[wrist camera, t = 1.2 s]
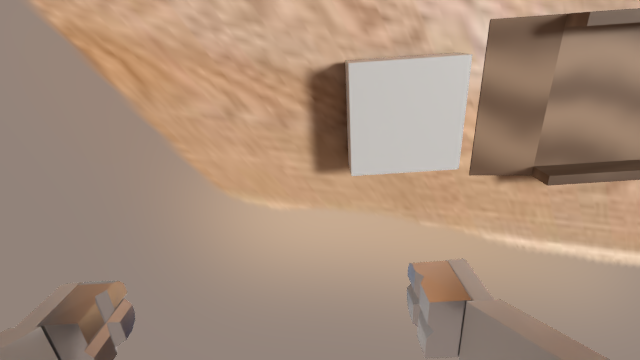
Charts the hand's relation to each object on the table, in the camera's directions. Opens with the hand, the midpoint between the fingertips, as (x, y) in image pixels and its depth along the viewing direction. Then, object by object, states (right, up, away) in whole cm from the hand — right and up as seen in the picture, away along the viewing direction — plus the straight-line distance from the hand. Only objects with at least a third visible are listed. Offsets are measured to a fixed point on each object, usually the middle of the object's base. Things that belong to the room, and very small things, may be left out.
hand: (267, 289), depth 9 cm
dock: (+31, +11, +22) cm, 40 cm away
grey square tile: (+9, +10, +22) cm, 26 cm away
